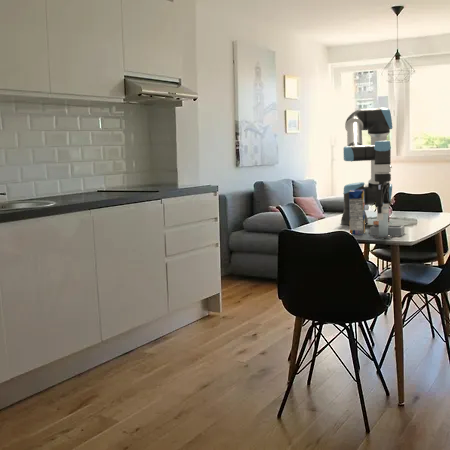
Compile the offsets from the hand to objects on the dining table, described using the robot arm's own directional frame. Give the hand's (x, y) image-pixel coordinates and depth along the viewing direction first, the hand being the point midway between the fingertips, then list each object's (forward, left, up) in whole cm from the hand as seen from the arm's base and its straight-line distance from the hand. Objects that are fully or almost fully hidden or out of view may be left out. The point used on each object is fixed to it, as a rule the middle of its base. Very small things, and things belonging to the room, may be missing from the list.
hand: (383, 218), depth 288 cm
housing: (0, +11, -9) cm, 14 cm away
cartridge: (0, 0, -9) cm, 9 cm away
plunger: (-5, +11, -8) cm, 15 cm away
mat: (0, 0, -9) cm, 9 cm away
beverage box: (-16, +12, -10) cm, 22 cm away
